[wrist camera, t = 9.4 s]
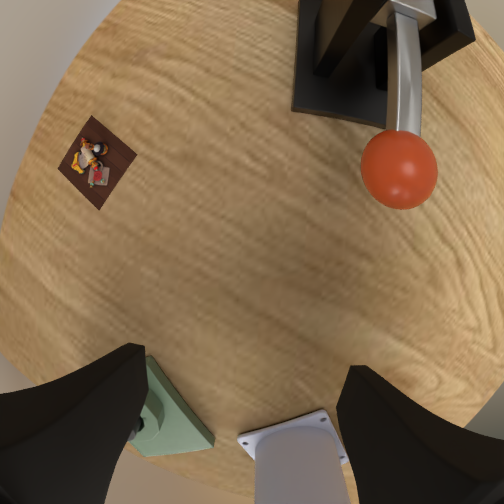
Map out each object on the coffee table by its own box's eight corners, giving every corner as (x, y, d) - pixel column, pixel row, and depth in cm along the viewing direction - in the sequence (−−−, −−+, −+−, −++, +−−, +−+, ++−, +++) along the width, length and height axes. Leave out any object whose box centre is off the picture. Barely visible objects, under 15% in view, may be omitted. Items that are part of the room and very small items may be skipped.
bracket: (396, 132, 16) (502, 101, 6) (291, 111, 16) (330, 31, 6) (391, 24, 14) (458, -44, 4) (298, 1, 14) (322, -96, 4)
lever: (407, 207, 11) (445, 222, 8) (345, 197, 11) (373, 209, 8) (411, 0, 8) (439, -24, 5) (355, -19, 8) (374, -51, 5)
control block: (215, 438, 21) (211, 463, 18) (147, 448, 22) (139, 469, 19) (151, 355, 19) (138, 378, 16) (84, 375, 20) (68, 395, 17)
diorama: (91, 128, 16) (74, 123, 14) (125, 158, 16) (110, 155, 14) (69, 163, 16) (51, 162, 14) (100, 194, 17) (84, 196, 15)
